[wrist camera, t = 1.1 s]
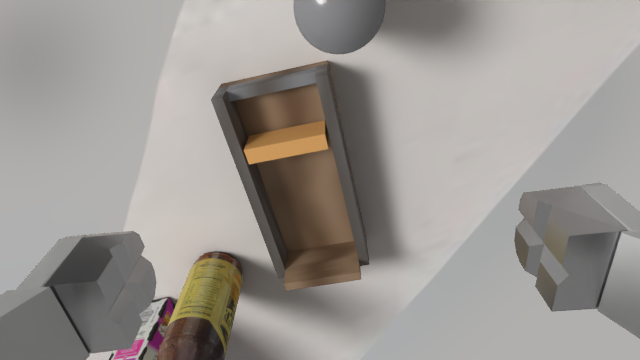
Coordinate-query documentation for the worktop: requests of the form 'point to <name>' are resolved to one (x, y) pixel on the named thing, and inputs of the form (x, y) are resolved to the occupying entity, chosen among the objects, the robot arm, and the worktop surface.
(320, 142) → the pusher
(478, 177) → the worktop surface
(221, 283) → the sauce bottle
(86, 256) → the robot arm
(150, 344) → the candy bar box
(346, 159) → the lane
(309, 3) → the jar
